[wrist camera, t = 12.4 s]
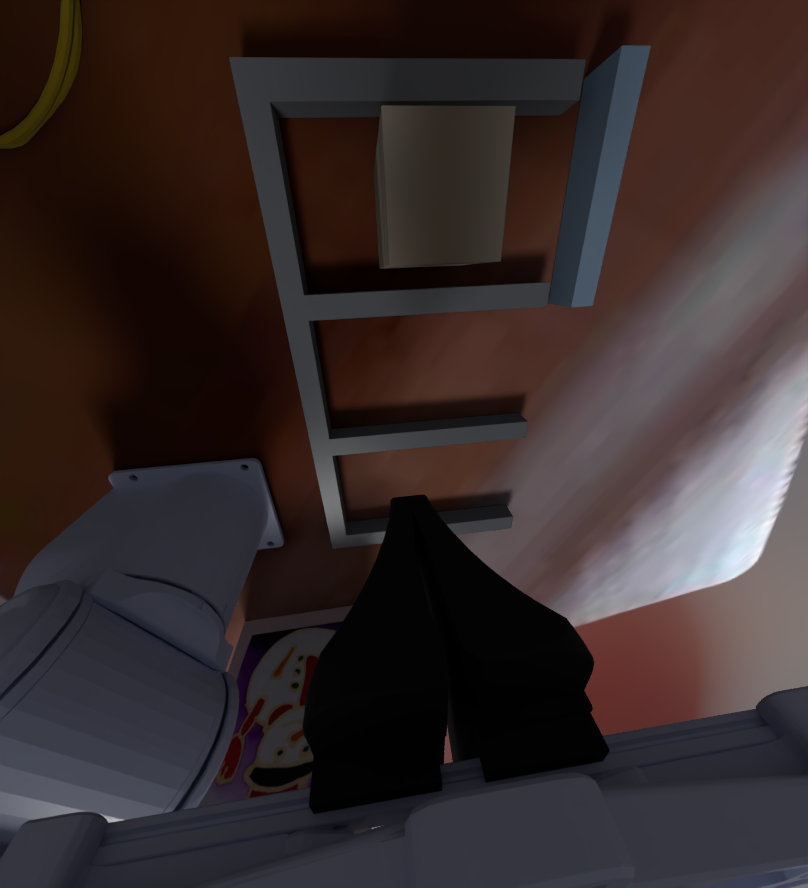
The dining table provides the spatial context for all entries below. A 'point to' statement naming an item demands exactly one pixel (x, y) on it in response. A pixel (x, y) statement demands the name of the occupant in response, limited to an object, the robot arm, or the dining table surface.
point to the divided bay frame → (573, 285)
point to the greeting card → (273, 705)
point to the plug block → (442, 184)
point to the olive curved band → (53, 77)
